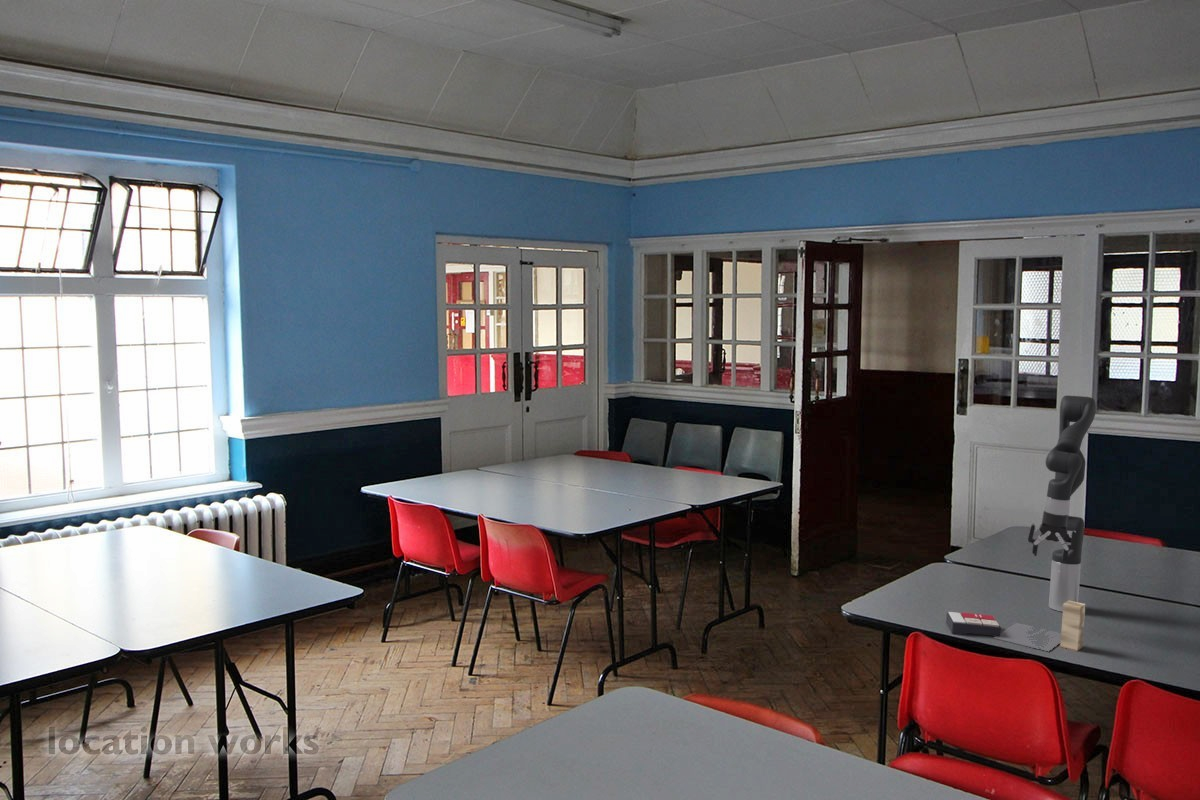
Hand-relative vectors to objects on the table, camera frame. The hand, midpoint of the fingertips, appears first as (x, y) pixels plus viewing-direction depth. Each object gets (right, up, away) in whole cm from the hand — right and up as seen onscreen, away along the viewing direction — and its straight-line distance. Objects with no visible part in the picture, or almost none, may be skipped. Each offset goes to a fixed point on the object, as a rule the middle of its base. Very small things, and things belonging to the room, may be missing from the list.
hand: (1049, 557), depth 325 cm
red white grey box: (-27, -23, -4) cm, 36 cm away
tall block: (-1, -25, -18) cm, 31 cm away
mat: (-10, -24, -10) cm, 28 cm away
